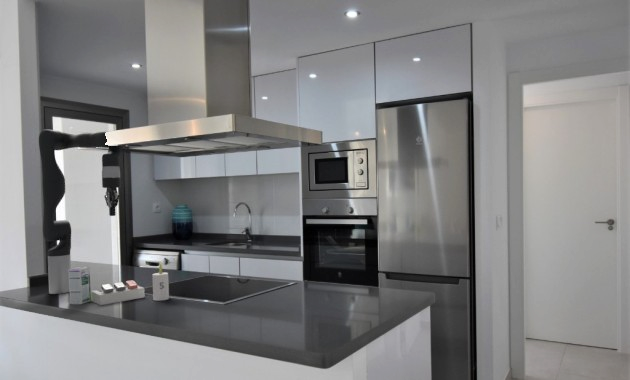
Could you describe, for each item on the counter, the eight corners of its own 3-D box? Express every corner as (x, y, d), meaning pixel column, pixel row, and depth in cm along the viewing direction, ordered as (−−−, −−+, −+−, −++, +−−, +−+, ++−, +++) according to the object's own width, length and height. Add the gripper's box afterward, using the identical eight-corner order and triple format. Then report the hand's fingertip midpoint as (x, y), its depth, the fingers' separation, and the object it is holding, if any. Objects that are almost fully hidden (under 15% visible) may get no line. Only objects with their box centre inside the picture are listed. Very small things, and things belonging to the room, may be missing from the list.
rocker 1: (101, 288, 197) (101, 285, 197) (109, 287, 199) (109, 283, 199) (105, 293, 194) (105, 289, 193) (113, 291, 196) (113, 288, 195)
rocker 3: (125, 284, 204) (125, 281, 203) (133, 282, 206) (133, 279, 206) (129, 289, 200) (130, 286, 200) (137, 288, 202) (137, 284, 202)
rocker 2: (113, 286, 200) (113, 283, 200) (121, 285, 203) (121, 281, 202) (117, 290, 197) (118, 287, 197) (125, 289, 199) (125, 286, 199)
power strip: (91, 300, 200) (90, 289, 200) (147, 291, 216) (146, 280, 216) (100, 305, 191) (100, 293, 191) (158, 294, 207) (157, 284, 207)
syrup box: (82, 304, 193) (80, 268, 193) (69, 304, 195) (68, 268, 195) (91, 301, 199) (90, 266, 199) (78, 301, 200) (77, 266, 200)
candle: (154, 301, 194) (153, 264, 194) (152, 298, 200) (151, 262, 200) (170, 299, 197) (168, 263, 197) (167, 296, 203) (166, 261, 203)
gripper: (97, 177, 214) (98, 216, 214) (107, 176, 204) (108, 216, 204) (114, 177, 219) (116, 215, 219) (125, 176, 209) (126, 215, 209)
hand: (112, 215), depth 211 cm, fingers closed
